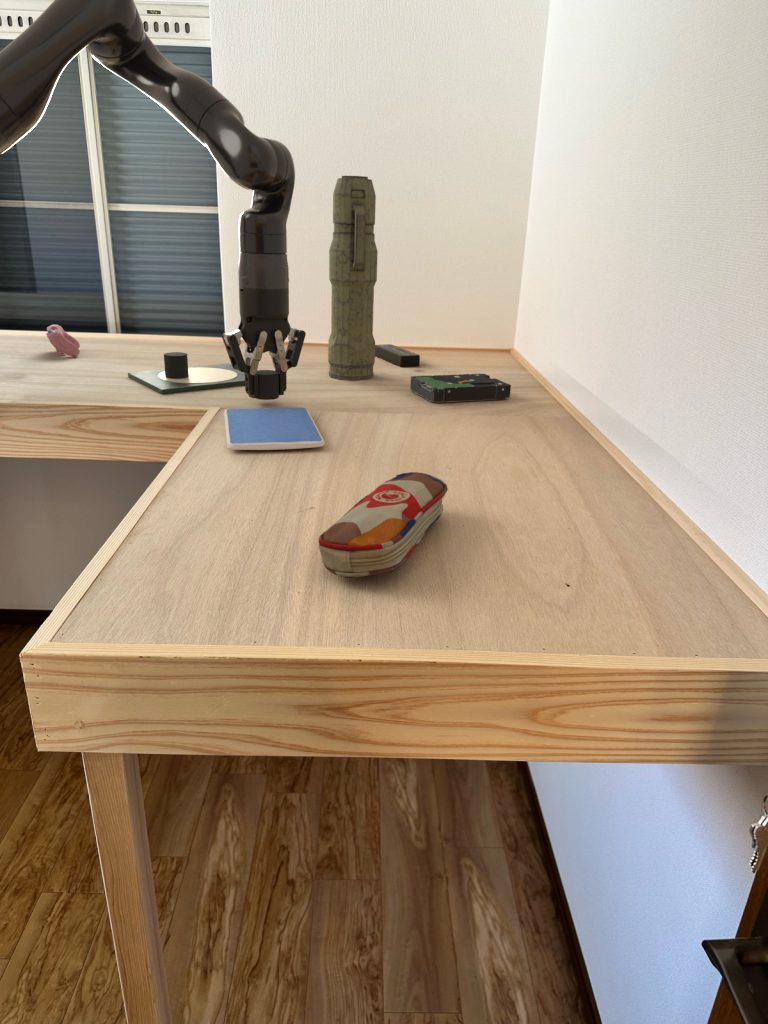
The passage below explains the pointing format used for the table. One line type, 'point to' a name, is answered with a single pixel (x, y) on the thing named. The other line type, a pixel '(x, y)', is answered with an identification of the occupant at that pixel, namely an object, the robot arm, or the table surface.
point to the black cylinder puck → (268, 384)
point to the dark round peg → (176, 365)
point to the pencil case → (383, 526)
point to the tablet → (271, 429)
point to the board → (191, 379)
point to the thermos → (352, 279)
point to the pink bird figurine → (62, 341)
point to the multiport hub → (397, 355)
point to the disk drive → (460, 387)
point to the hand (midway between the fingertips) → (266, 395)
